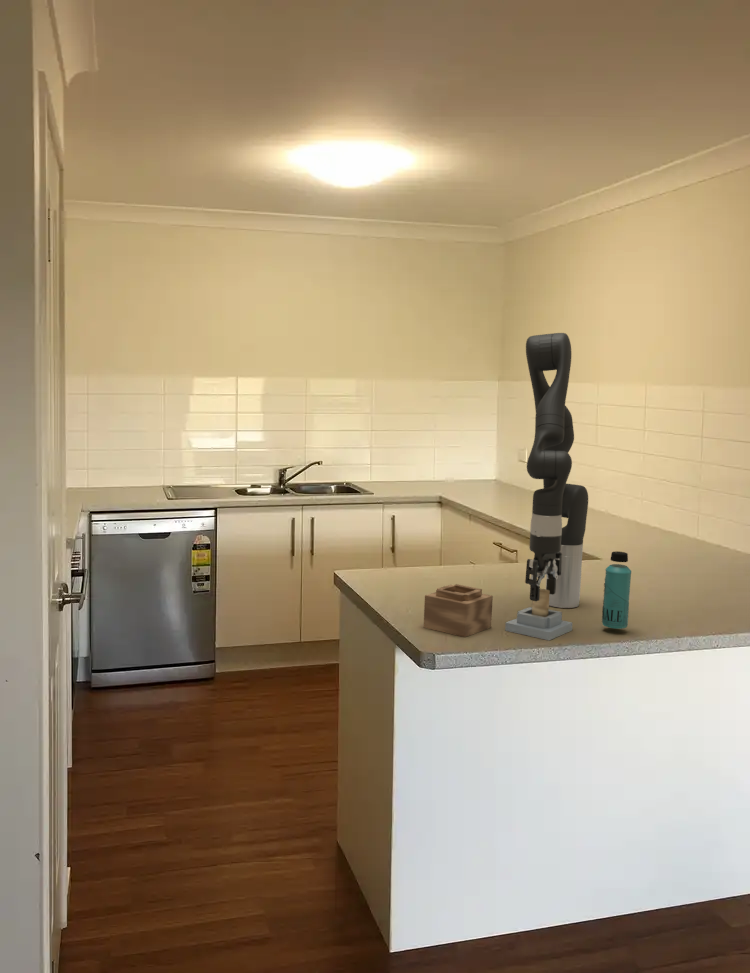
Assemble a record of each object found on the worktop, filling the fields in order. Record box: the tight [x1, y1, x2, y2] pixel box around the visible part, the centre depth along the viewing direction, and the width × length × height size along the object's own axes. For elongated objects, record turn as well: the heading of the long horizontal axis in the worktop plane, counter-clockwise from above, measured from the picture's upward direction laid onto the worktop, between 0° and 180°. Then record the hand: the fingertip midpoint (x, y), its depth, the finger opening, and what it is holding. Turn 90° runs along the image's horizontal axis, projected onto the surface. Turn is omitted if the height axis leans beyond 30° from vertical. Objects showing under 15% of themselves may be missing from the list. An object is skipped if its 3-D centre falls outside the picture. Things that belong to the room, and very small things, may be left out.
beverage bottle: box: [601, 550, 632, 630], centre depth 236 cm, size 6×7×20 cm
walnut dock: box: [423, 583, 494, 638], centre depth 235 cm, size 12×12×10 cm
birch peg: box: [531, 588, 550, 617], centre depth 235 cm, size 4×4×8 cm
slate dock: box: [504, 606, 573, 641], centre depth 235 cm, size 12×12×4 cm
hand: (542, 597), depth 234 cm, fingers open, 8 cm apart
